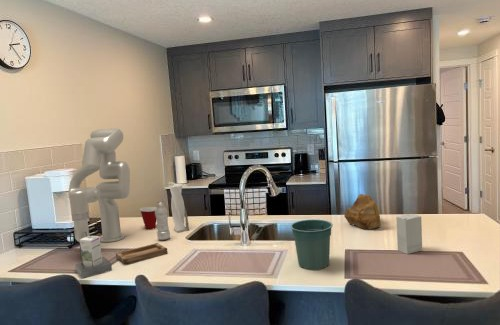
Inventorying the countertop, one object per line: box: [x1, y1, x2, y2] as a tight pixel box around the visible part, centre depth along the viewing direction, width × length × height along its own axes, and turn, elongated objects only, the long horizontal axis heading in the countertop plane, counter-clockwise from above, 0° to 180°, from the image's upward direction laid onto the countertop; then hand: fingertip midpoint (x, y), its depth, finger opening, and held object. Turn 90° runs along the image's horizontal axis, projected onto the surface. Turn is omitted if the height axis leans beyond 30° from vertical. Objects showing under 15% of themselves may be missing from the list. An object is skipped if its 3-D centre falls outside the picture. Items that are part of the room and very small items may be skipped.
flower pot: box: [290, 218, 334, 270], centre depth 151 cm, size 16×16×16 cm
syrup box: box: [79, 235, 103, 269], centre depth 162 cm, size 6×6×14 cm
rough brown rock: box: [343, 193, 381, 230], centre depth 201 cm, size 23×17×15 cm
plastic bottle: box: [155, 201, 171, 241], centre depth 200 cm, size 6×7×20 cm
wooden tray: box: [115, 242, 169, 266], centre depth 177 cm, size 12×20×2 cm, turn 126°
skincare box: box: [396, 213, 423, 255], centre depth 158 cm, size 8×6×15 cm
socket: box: [74, 256, 113, 279], centre depth 162 cm, size 12×12×3 cm
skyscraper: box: [168, 182, 190, 233], centre depth 216 cm, size 8×8×28 cm
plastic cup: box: [139, 206, 158, 230], centre depth 226 cm, size 11×11×12 cm
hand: (84, 254), depth 181 cm, fingers closed
